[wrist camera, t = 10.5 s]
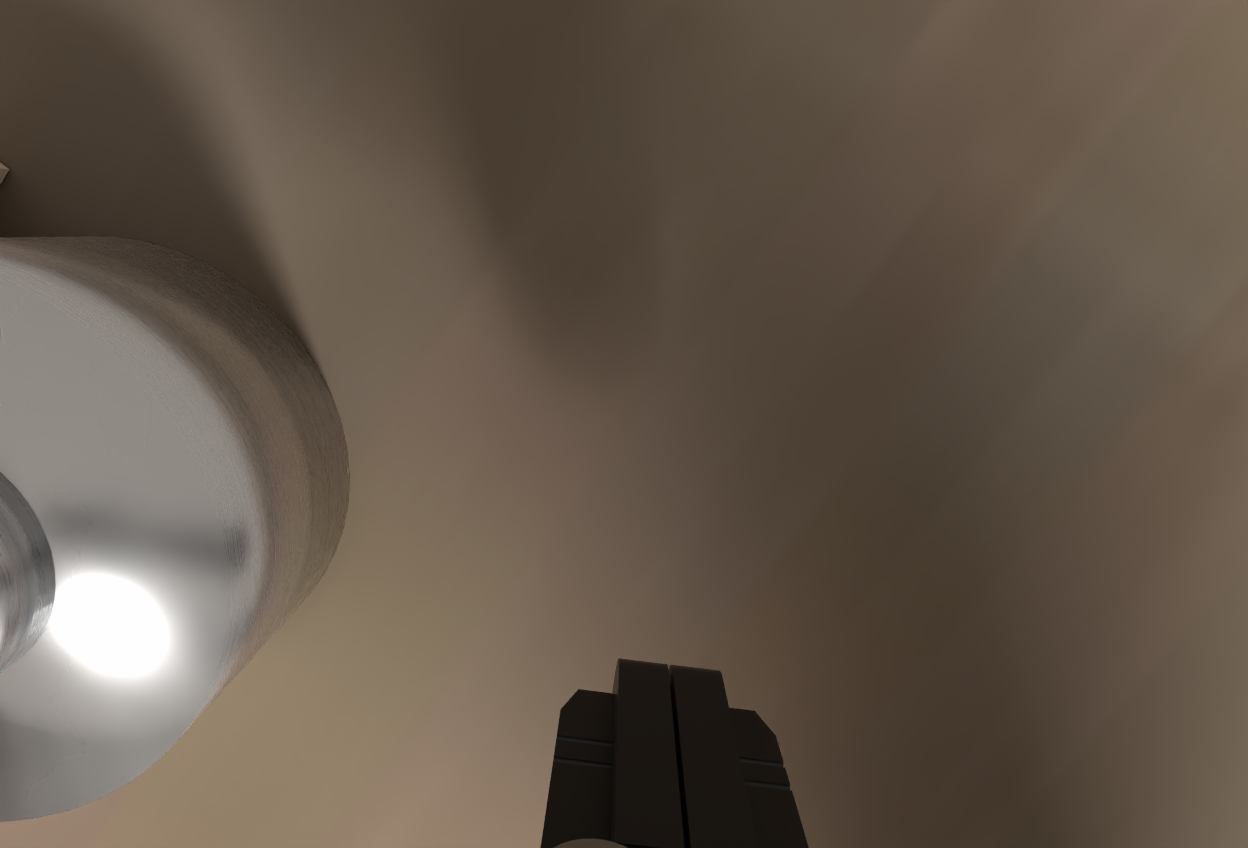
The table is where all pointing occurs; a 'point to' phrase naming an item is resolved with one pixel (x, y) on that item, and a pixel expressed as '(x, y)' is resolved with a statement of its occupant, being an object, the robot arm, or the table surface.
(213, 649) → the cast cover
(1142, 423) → the table surface
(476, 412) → the table surface
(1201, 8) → the table surface
